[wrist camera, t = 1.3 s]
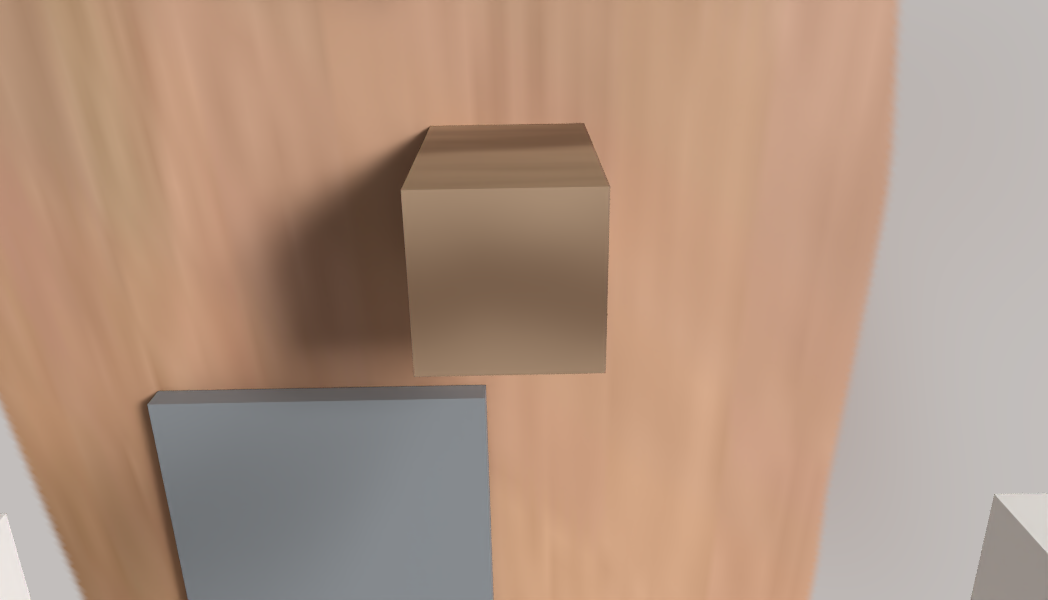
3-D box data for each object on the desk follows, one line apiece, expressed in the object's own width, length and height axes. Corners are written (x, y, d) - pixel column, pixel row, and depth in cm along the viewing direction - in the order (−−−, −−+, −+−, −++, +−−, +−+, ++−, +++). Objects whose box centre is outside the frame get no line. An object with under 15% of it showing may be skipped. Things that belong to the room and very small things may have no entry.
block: (430, 125, 28) (400, 190, 20) (584, 123, 28) (610, 186, 20) (438, 270, 30) (414, 377, 22) (582, 267, 30) (605, 373, 22)
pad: (158, 391, 31) (147, 404, 30) (485, 384, 31) (484, 397, 30) (208, 643, 36) (200, 662, 35) (494, 637, 36) (494, 656, 35)
